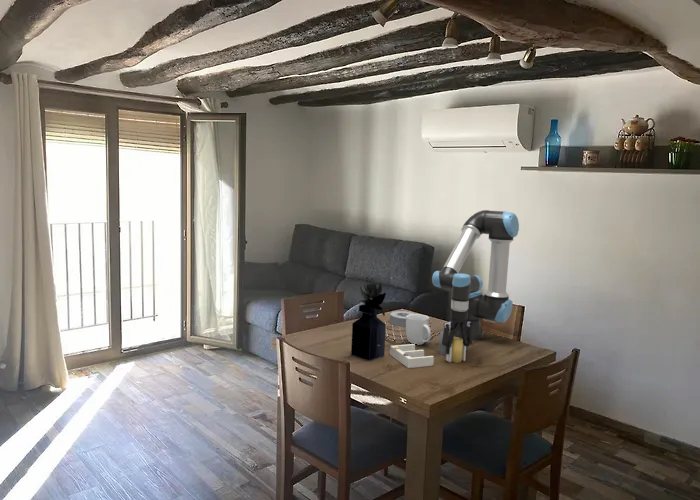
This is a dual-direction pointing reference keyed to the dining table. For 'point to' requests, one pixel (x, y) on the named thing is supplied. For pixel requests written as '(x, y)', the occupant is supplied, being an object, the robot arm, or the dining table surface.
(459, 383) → the dining table surface
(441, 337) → the charcoal plug
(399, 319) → the grey wheel
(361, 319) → the vase
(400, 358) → the comb rack
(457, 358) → the ochre plug
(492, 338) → the dining table surface
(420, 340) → the mug
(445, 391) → the dining table surface
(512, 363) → the dining table surface
